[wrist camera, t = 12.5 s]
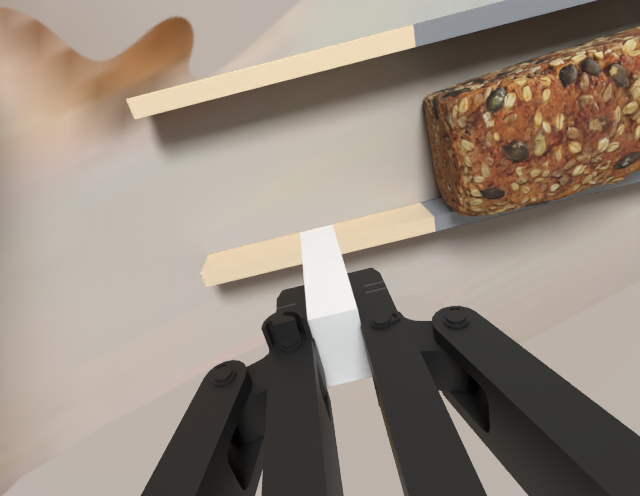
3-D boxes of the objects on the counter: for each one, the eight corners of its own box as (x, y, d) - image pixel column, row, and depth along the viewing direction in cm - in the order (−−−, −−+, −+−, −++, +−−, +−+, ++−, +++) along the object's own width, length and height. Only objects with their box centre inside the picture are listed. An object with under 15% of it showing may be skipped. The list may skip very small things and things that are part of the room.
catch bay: (143, 95, 32) (126, 99, 29) (682, -45, 31) (734, -59, 28) (213, 267, 40) (206, 287, 36) (652, 159, 38) (689, 169, 35)
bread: (623, 22, 33) (749, 5, 24) (617, 143, 38) (721, 167, 29) (413, 89, 34) (458, 97, 25) (432, 199, 39) (476, 239, 30)
